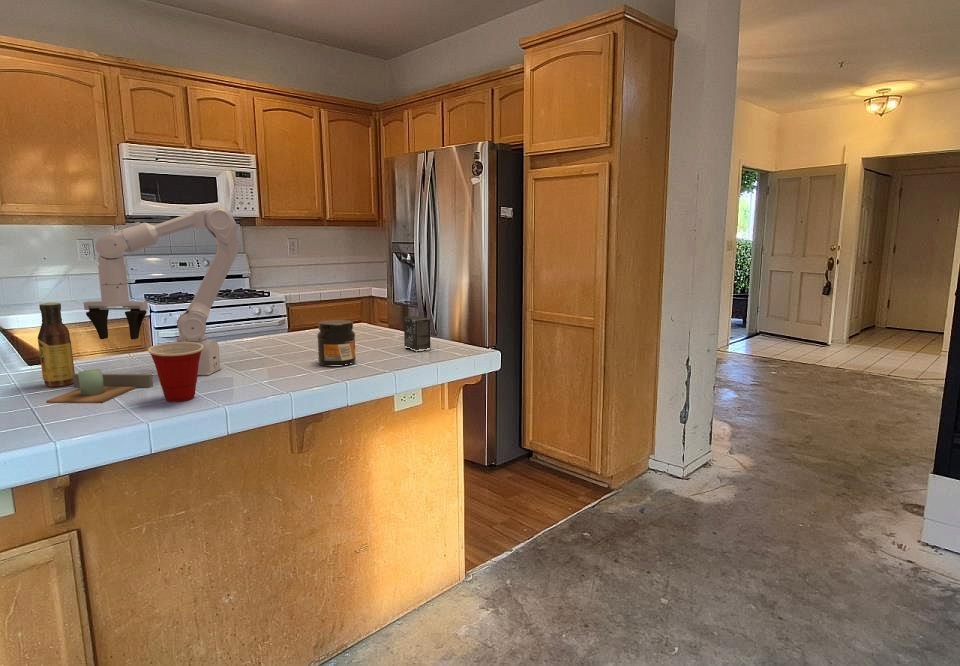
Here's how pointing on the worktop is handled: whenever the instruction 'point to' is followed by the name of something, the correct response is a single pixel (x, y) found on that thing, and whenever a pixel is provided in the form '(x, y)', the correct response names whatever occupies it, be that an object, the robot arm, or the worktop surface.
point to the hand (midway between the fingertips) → (119, 338)
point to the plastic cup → (177, 368)
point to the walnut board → (99, 398)
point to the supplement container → (336, 342)
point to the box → (417, 332)
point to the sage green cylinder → (91, 382)
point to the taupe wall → (122, 380)
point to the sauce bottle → (55, 347)
